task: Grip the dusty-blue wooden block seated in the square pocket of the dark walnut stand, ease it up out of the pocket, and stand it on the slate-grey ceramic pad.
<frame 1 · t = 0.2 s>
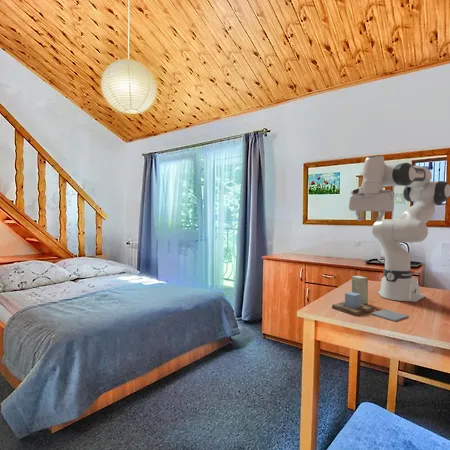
hand: (369, 221, 140), 39 cm above the table, tool pointing down, fingers open, 8 cm apart
skincare box: (359, 303, 146), on the table
ceramic pad: (389, 315, 127), on the table
walnut stand: (352, 309, 135), on the table
blue block: (352, 301, 135), in the walnut stand
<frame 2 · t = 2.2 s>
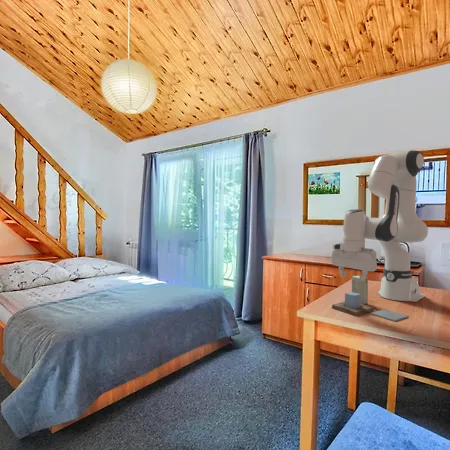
hand: (352, 278, 134), 14 cm above the table, tool pointing down, fingers open, 8 cm apart
nothing on the table moved.
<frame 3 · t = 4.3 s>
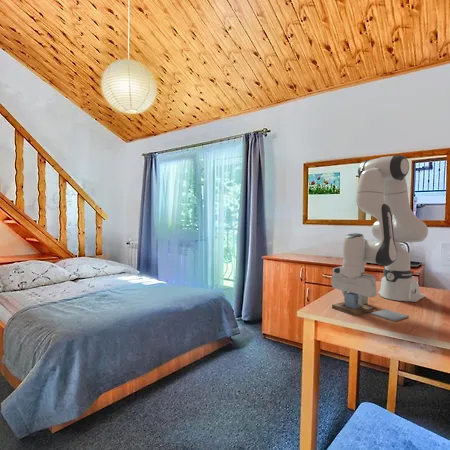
hand: (352, 302, 135), 3 cm above the table, tool pointing down, fingers closed on blue block, 4 cm apart
blue block: (352, 301, 135), in the walnut stand, touching gripper
everything else where it was.
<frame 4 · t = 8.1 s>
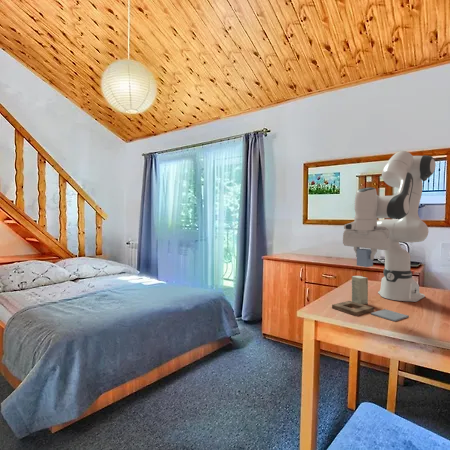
hand: (364, 258, 132), 23 cm above the table, tool pointing down, fingers closed on blue block, 4 cm apart
blue block: (364, 257, 132), point 23 cm above the table, touching gripper
everything else where it was.
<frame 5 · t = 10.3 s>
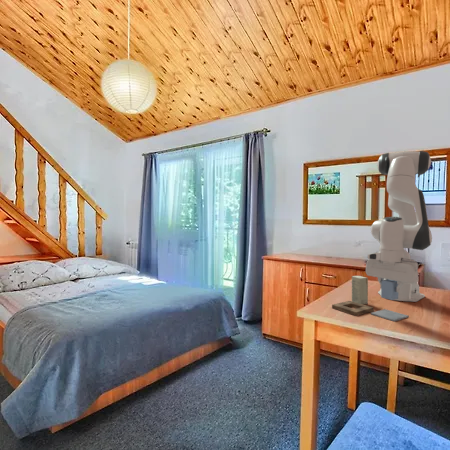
hand: (390, 290, 126), 11 cm above the table, tool pointing down, fingers closed on blue block, 4 cm apart
blue block: (389, 289, 126), point 11 cm above the table, touching gripper
everything else where it was.
when the fingers open (5 cm above the table, at t = 11.9 s): blue block drops 1 cm, resting on ceramic pad.
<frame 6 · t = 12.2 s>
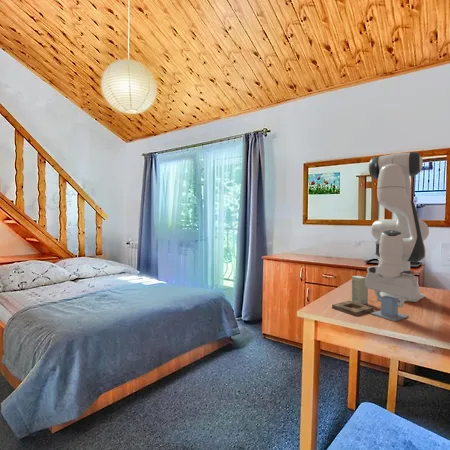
hand: (389, 303, 127), 5 cm above the table, tool pointing down, fingers open, 7 cm apart
blue block: (389, 305, 127), on the ceramic pad, point 4 cm above the table
everything else where it was.
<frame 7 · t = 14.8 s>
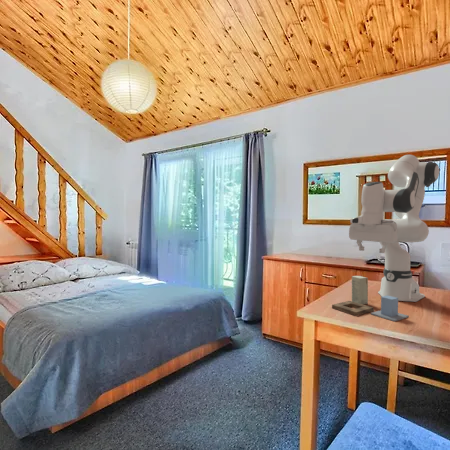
hand: (371, 251, 134), 25 cm above the table, tool pointing down, fingers open, 8 cm apart
nothing on the table moved.
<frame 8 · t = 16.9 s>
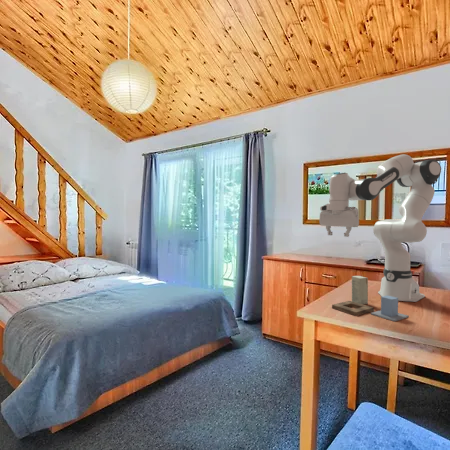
hand: (338, 235, 148), 31 cm above the table, tool pointing down, fingers open, 8 cm apart
nothing on the table moved.
at the end: blue block inside the target area on the ceramic pad (0.1 cm from its centre), point 4.1 cm above the ceramic pad's base; blue block tilted 0°; the gripper is holding nothing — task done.
